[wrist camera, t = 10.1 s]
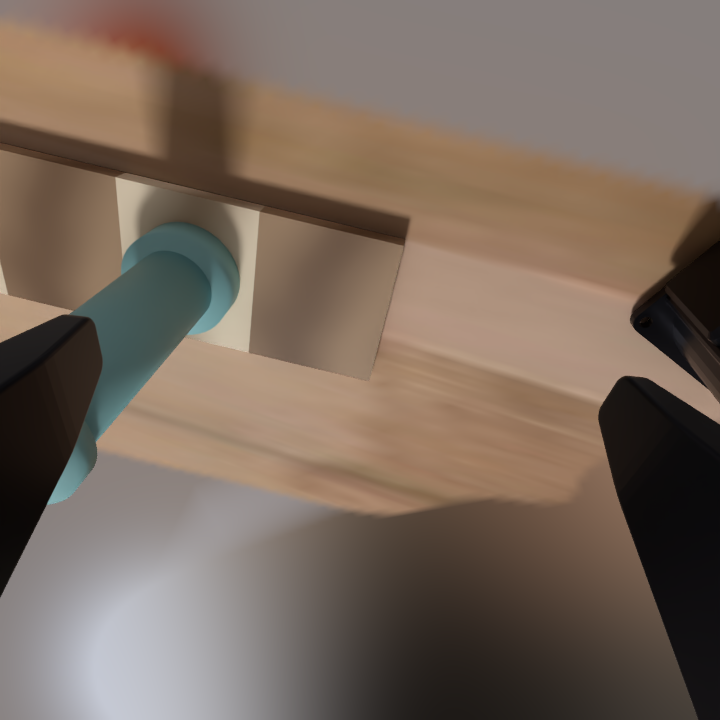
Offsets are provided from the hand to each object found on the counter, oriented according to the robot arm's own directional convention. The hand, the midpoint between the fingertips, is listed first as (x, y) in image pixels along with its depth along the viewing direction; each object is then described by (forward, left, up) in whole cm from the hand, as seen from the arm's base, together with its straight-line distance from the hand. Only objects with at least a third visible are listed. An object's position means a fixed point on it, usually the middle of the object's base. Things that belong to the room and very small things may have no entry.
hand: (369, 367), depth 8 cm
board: (+8, +10, -13) cm, 18 cm away
